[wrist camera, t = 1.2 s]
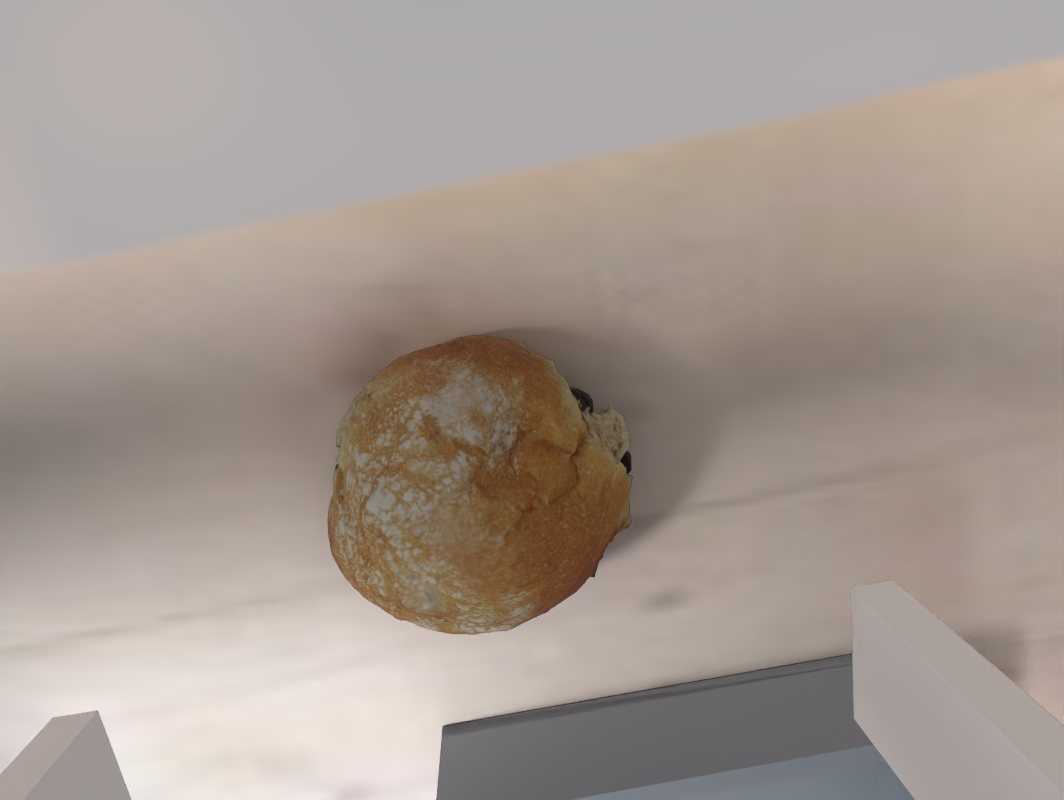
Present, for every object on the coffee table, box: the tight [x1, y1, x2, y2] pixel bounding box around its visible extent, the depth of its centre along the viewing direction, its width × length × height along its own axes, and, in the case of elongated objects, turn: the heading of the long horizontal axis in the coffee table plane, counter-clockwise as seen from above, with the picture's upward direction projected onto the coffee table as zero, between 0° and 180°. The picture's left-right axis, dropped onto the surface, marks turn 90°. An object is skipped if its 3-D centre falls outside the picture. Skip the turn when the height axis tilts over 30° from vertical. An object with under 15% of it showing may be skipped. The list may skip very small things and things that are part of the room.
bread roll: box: [328, 335, 632, 635], centre depth 21 cm, size 10×10×8 cm
